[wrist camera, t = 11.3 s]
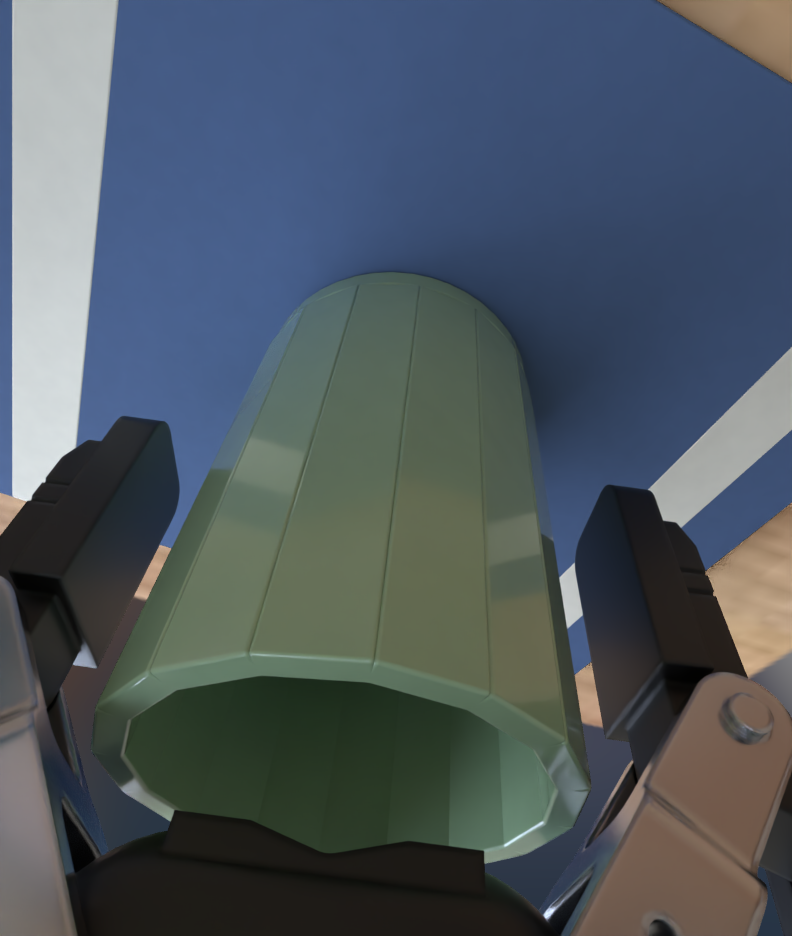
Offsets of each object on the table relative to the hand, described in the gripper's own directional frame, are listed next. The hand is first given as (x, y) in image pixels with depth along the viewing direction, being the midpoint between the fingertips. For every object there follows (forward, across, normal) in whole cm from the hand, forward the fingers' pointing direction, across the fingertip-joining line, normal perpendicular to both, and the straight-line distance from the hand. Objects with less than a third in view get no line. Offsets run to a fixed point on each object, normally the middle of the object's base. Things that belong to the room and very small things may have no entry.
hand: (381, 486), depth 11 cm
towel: (+3, 0, 0) cm, 3 cm away
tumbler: (+3, 0, 0) cm, 3 cm away
